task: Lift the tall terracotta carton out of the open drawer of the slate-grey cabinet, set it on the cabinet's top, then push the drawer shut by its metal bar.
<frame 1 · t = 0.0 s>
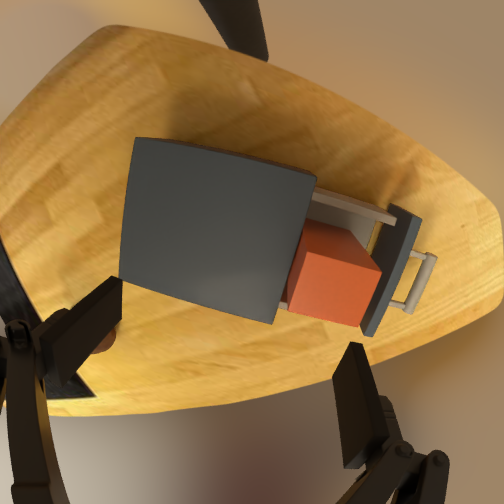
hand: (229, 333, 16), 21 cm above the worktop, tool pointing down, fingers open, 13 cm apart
drawer: (343, 256, 31), point 4 cm above the worktop, slide at 10.0 cm, touching box
potato: (98, 324, 43), on the worktop
box: (319, 244, 33), point 2 cm above the worktop, touching drawer
cabinet: (222, 213, 35), on the worktop
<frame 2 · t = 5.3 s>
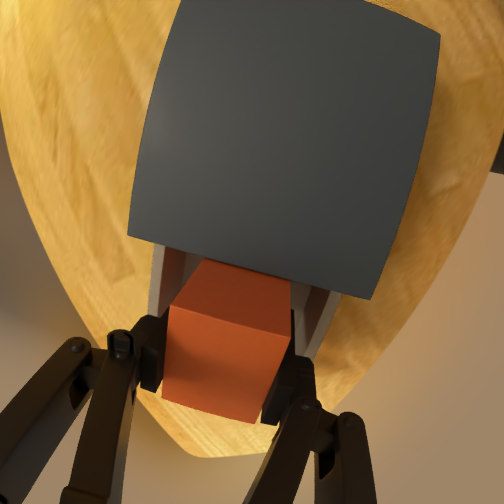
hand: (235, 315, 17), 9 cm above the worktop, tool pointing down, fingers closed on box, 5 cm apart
drawer: (237, 312, 22), point 4 cm above the worktop, slide at 10.0 cm, touching box
box: (248, 272, 24), point 2 cm above the worktop, touching drawer, gripper
cabinet: (285, 129, 22), on the worktop
when the fingers open (15 cm above the worktop, at t = 10.2 s): box stays where it is, resting on cabinet.
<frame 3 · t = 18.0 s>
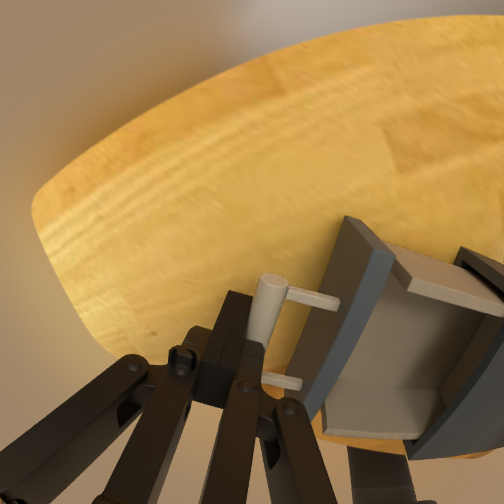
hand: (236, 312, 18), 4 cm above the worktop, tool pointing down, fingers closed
drawer: (393, 348, 17), point 4 cm above the worktop, slide at 9.3 cm, touching gripper
cabinet: (483, 338, 21), on the worktop
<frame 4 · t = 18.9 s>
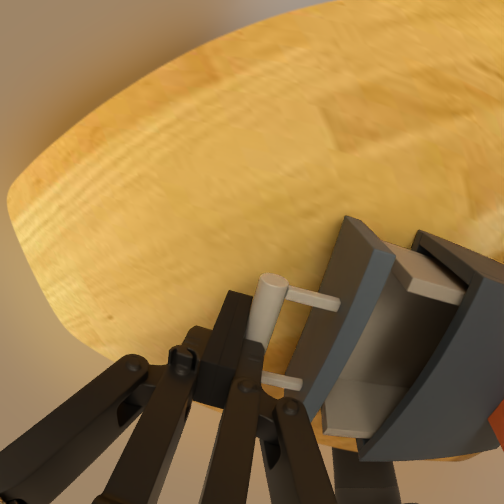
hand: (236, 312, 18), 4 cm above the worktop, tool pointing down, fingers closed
drawer: (393, 348, 17), point 4 cm above the worktop, slide at 4.8 cm, touching gripper
cabinet: (454, 332, 21), on the worktop
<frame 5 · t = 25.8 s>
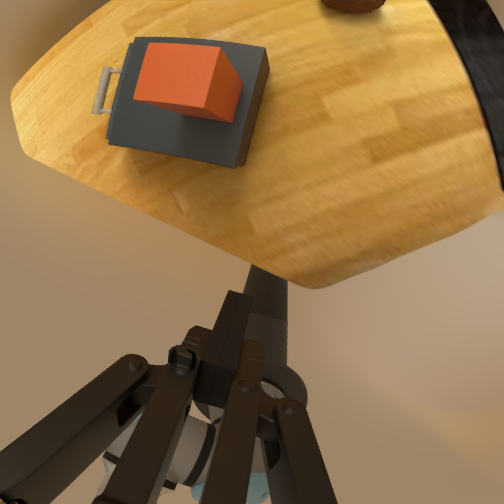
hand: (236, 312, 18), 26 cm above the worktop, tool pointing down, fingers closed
drawer: (163, 96, 34), point 4 cm above the worktop, slide at 0.0 cm, touching cabinet
potato: (348, 1, 30), on the worktop
box: (212, 98, 30), point 9 cm above the worktop, touching cabinet
cabinet: (200, 104, 38), on the worktop
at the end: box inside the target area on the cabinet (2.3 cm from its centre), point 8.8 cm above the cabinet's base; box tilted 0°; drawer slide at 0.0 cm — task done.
